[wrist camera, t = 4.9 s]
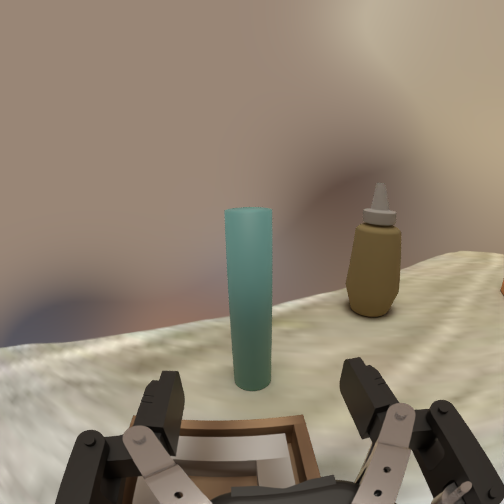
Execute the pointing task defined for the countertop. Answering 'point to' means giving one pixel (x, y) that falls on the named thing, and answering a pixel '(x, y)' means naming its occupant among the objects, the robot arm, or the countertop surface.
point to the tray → (237, 456)
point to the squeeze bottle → (375, 259)
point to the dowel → (250, 294)
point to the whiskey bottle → (503, 288)
